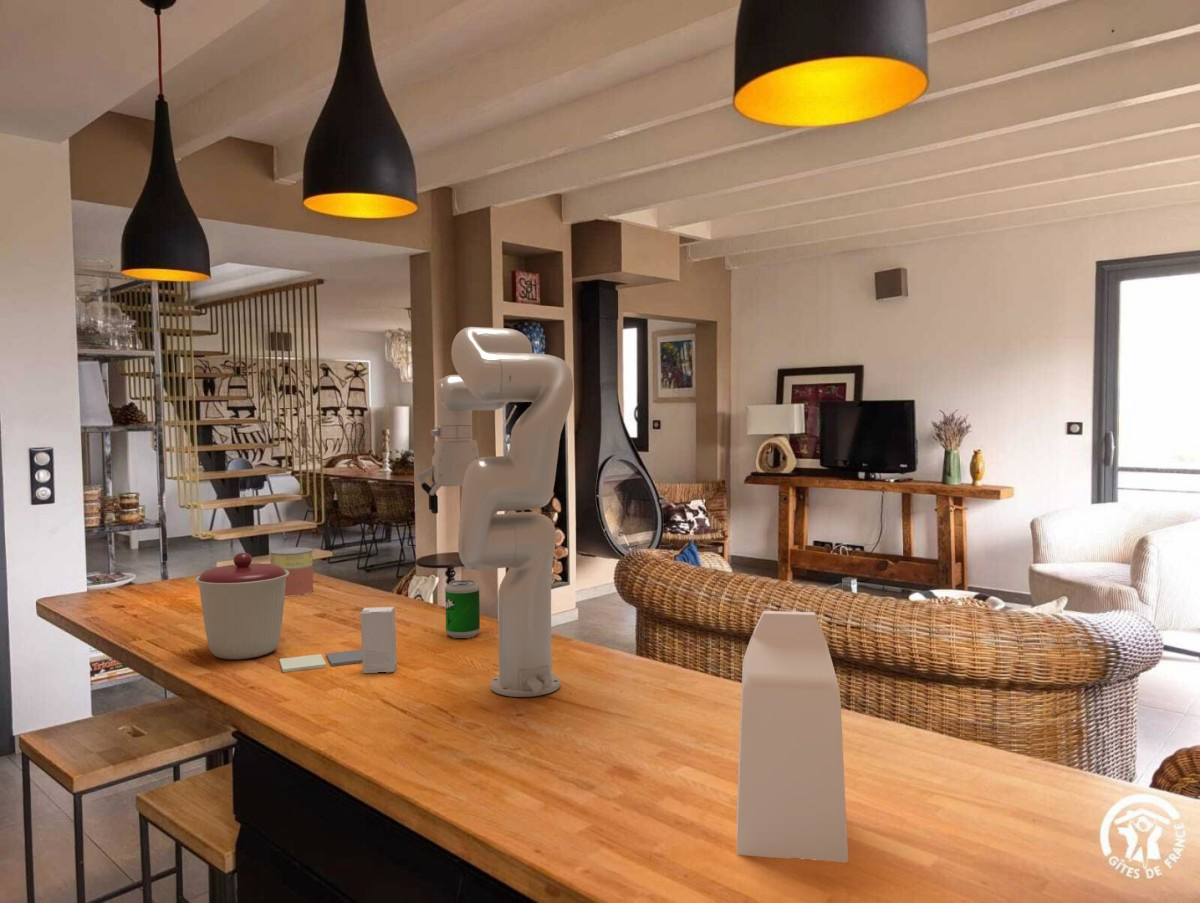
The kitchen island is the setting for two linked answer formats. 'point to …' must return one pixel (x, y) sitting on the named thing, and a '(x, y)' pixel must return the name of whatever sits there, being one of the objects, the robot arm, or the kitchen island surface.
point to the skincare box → (378, 639)
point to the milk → (790, 744)
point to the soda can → (462, 609)
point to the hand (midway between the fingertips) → (456, 511)
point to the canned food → (295, 568)
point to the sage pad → (302, 663)
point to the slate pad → (344, 657)
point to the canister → (243, 607)
